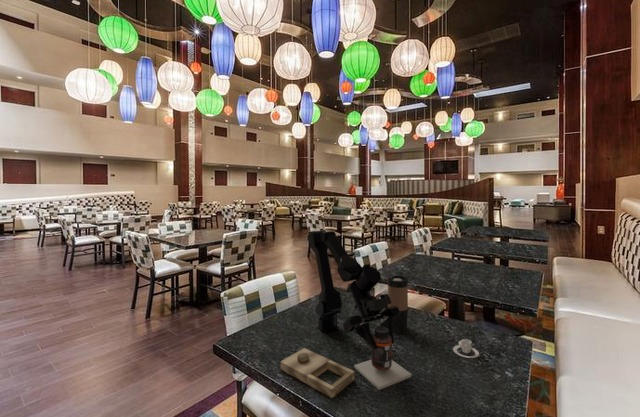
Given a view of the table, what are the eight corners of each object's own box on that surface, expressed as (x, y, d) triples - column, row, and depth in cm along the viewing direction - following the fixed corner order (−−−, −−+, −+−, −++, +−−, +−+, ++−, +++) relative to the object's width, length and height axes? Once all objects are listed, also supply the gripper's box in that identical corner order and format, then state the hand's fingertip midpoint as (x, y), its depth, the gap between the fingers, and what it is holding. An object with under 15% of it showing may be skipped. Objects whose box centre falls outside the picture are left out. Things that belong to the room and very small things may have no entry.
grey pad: (354, 367, 95) (354, 365, 95) (384, 357, 101) (384, 354, 101) (379, 390, 85) (379, 387, 85) (411, 376, 90) (411, 374, 90)
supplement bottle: (393, 371, 90) (393, 334, 89) (372, 371, 90) (372, 334, 89) (389, 359, 96) (390, 324, 95) (370, 359, 96) (370, 324, 95)
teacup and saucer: (459, 343, 109) (459, 332, 109) (483, 351, 104) (483, 340, 103) (448, 352, 103) (449, 341, 103) (473, 362, 98) (474, 350, 97)
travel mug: (408, 333, 116) (408, 282, 115) (387, 332, 118) (387, 281, 116) (406, 324, 124) (407, 276, 122) (387, 323, 125) (387, 275, 124)
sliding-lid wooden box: (354, 379, 89) (354, 367, 89) (332, 398, 82) (331, 385, 81) (304, 355, 103) (303, 344, 103) (280, 369, 95) (280, 357, 95)
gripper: (348, 291, 90) (371, 344, 81) (396, 281, 99) (422, 328, 90) (334, 307, 98) (354, 358, 89) (381, 297, 106) (403, 342, 97)
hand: (384, 346), depth 91 cm, fingers closed on supplement bottle, 6 cm apart
